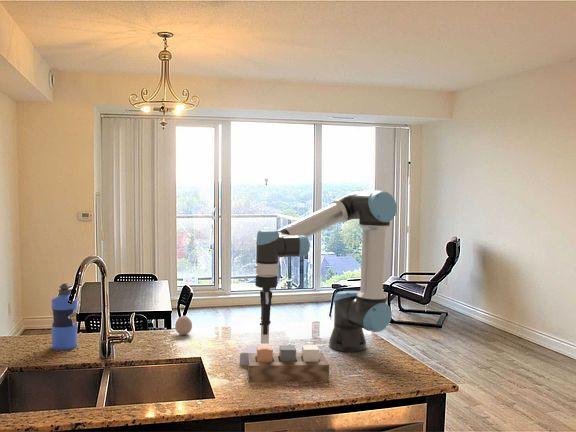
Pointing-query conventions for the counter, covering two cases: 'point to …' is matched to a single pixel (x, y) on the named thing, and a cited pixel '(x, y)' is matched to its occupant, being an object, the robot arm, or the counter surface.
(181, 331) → the egg
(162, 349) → the counter surface
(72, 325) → the water bottle
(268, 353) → the key terracotta
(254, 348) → the charger
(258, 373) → the console
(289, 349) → the key graphite
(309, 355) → the key ivory
